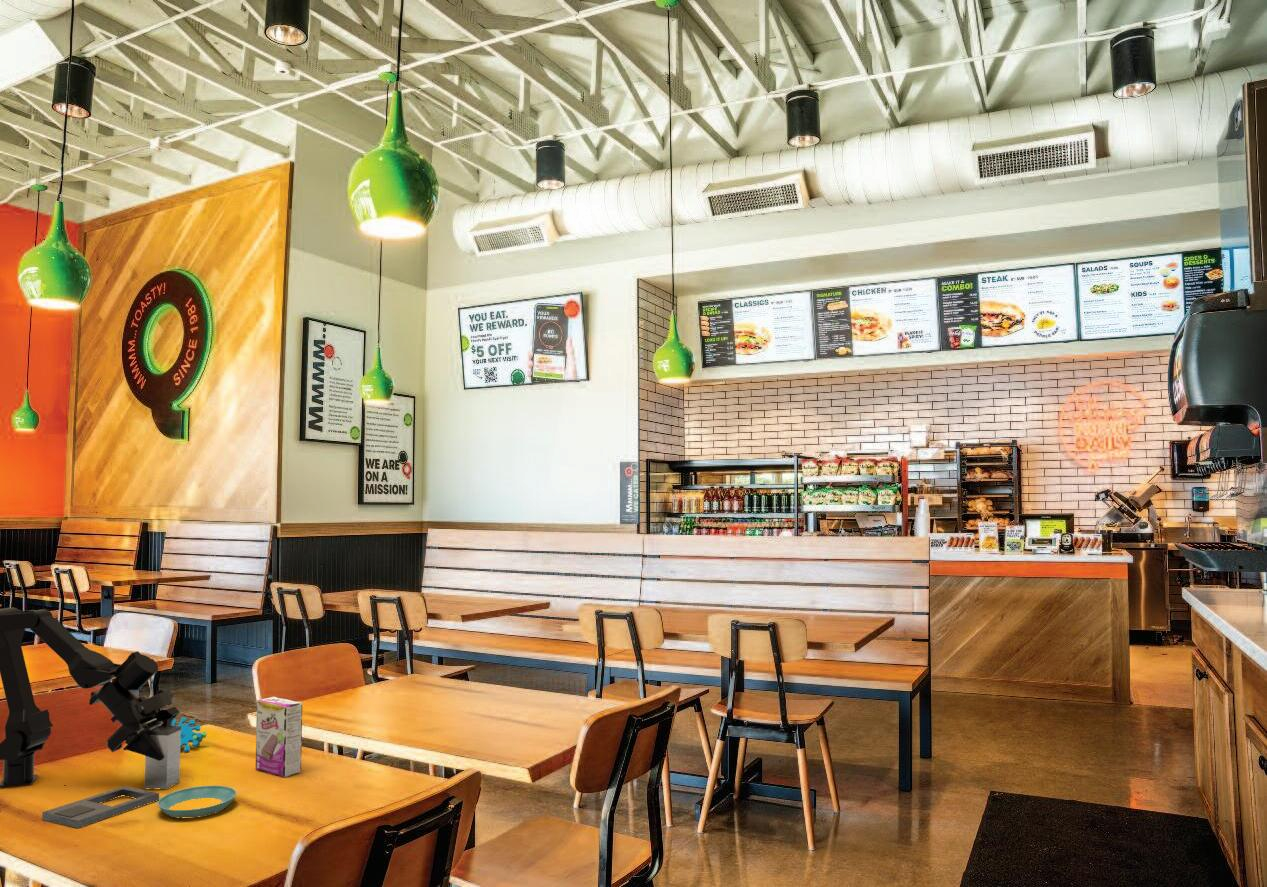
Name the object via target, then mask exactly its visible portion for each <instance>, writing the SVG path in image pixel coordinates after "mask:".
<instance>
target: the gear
mask: <svg viewBox="0 0 1267 887" xmlns="http://www.w3.org/2000/svg"><path fill="white" fill-rule="evenodd" d="M176 723H177V719H176V718H174V719H173V721H172V722H171V726H181V745H180V749H181V748H182V747H183V746H184V747H183V748H184V749H183V752H184V753H188V752H190V750H191V747H190V746H189V743H192V744H191V745H192V747H193V748H194V747H196V746H197V747H199V746H200V744H201V742H202V741H203V739H206V738H207V734H208V732H207V731H202V732H200V731H201V724H197V725H195V724H196V721H195V719H193V718H191V719H190V720H189V722H187V717H185V716H181V718H180V722H179V723H178V724H177V725H176ZM184 723H185V724H184ZM194 725H195V726H194ZM195 731H197V732H195Z"/></svg>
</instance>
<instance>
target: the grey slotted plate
mask: <svg viewBox="0 0 1267 887" xmlns="http://www.w3.org/2000/svg"><path fill="white" fill-rule="evenodd" d="M121 795H125V796H129V797H134V798H136V799H133V798H132V799H130V800H127V801H124V802H122V803H118V804H115V805H107V804H103V803H105V802H104V801H106V802H108V801H107V800H109V801H111V800H110V799H112V800H114V799H113V798H115V797H118V796H121ZM129 797H128V798H129ZM115 799H116V798H115ZM159 799H160V793H159V792H155V791H150V790H147V789H141V788H135V787H131V786H126V785H125V786H124V785H123V786H121V787H117V788H115V789H110V790H108V791H105V792H102V793H99V794H95V795H92V796H90V797H86V798H83V799H80V800H76V801H72V802H71V803H67V804H64V805H60V806H58V807H53V808H51V809H48V810H45V811H42V814H41V816H42V818H41V819H42V821H45V822H46V821H47V822H51V823H53V824H58V825H61V824H62V825H61V826H65V825H66V827H69V826H71V827H70V828H73V827H75V828H74V829H77V828H78V829H80V828H79V827H81V828H83V827H82V826H84V827H86V826H85V825H87V826H89V825H92V824H94V823H93V822H95V823H97V822H96V821H98V822H100V821H99V820H101V821H103V820H102V819H104V820H106V819H105V818H107V819H109V818H108V817H110V816H113V815H116V814H118V815H120V814H119V813H121V814H123V813H122V812H124V811H127V810H130V809H133V808H135V807H138V806H141V805H144V804H147V803H150V802H153V801H156V800H159ZM100 802H103V803H100ZM156 802H157V801H156ZM99 803H100V804H99ZM153 803H154V802H153ZM150 804H151V803H150ZM147 805H148V804H147ZM144 806H145V805H144ZM133 810H134V809H133ZM130 811H131V810H130ZM127 812H128V811H127ZM124 813H125V812H124ZM116 816H117V815H116ZM113 817H114V816H113ZM110 818H111V817H110ZM91 823H92V824H91ZM88 824H89V825H88Z"/></svg>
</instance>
